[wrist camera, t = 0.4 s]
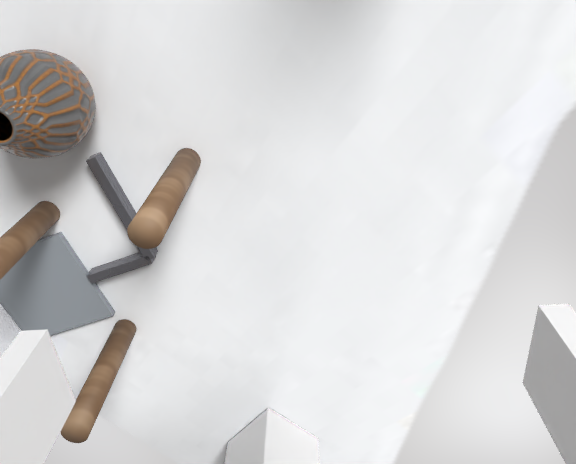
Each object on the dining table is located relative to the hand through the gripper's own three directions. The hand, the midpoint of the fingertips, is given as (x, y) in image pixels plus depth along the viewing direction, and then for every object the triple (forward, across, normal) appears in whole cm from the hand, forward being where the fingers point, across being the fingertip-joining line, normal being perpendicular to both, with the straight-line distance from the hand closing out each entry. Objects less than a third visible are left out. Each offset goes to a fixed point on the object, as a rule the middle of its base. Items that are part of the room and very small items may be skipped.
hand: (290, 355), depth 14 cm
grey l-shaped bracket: (+26, -17, -8) cm, 32 cm away
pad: (+26, -24, -14) cm, 38 cm away
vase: (+26, -17, +2) cm, 32 cm away
